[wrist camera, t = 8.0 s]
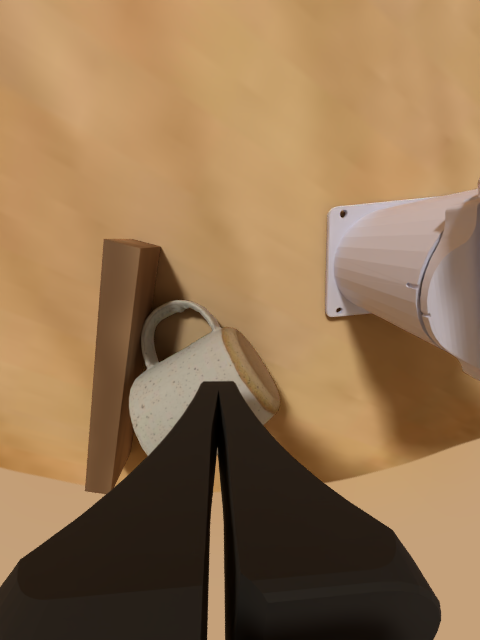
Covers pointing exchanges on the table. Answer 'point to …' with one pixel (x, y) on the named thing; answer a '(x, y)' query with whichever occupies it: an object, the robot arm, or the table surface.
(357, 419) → the table surface
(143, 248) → the rail
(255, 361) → the ceramic mug
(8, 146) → the table surface
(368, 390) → the table surface
